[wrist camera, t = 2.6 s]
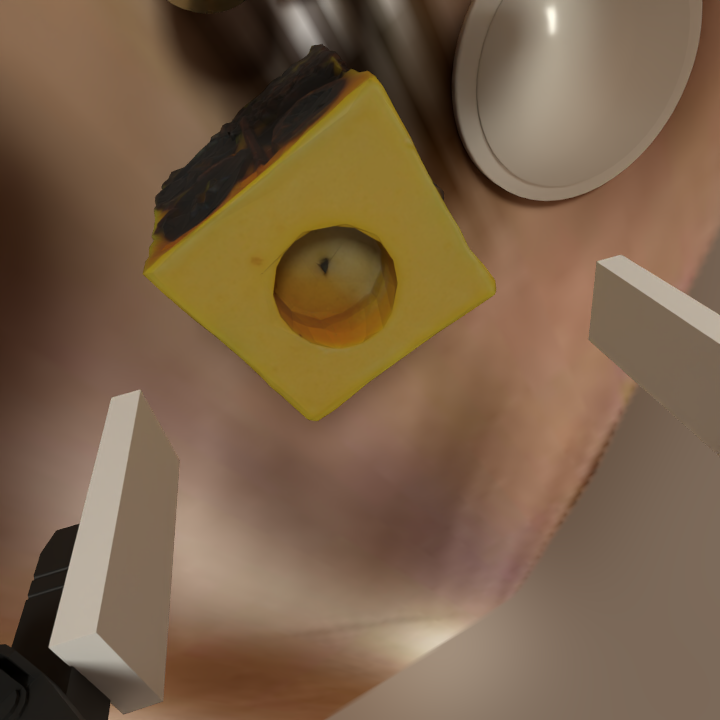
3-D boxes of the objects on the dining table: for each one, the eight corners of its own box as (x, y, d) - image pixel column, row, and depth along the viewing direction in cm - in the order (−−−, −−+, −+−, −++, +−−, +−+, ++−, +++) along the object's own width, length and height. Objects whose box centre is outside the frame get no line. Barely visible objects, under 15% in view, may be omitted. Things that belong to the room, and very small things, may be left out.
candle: (319, 38, 23) (376, 57, 15) (428, 209, 29) (511, 288, 21) (153, 183, 25) (127, 268, 17) (287, 318, 31) (314, 429, 23)
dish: (459, 220, 30) (467, 228, 29) (441, -68, 22) (452, -71, 21) (664, 165, 31) (679, 171, 30) (714, -127, 23) (736, -132, 22)
